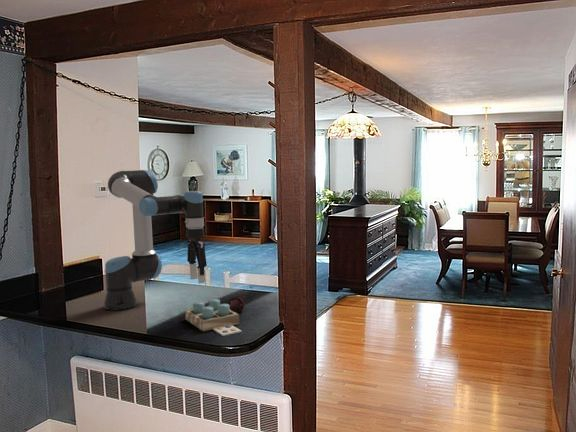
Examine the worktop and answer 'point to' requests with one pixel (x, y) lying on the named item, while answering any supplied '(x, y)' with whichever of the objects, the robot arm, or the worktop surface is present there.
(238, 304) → the icecream
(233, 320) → the wooden compartment tray
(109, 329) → the worktop surface
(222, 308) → the teal blunt tapered piece
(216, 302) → the teal blunt egg shape
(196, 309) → the teal rounded lump
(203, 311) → the teal domed cylinder
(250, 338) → the worktop surface
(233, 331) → the card
